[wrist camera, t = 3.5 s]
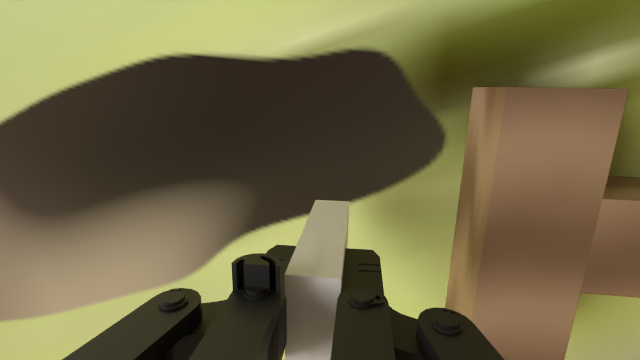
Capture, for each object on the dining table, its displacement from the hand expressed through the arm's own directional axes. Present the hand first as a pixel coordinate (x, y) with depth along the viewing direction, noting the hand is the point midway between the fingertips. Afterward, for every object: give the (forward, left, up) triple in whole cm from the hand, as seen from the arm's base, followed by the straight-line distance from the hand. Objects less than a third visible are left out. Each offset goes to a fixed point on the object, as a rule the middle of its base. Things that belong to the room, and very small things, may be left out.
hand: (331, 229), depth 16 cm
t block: (0, +12, -3) cm, 13 cm away
